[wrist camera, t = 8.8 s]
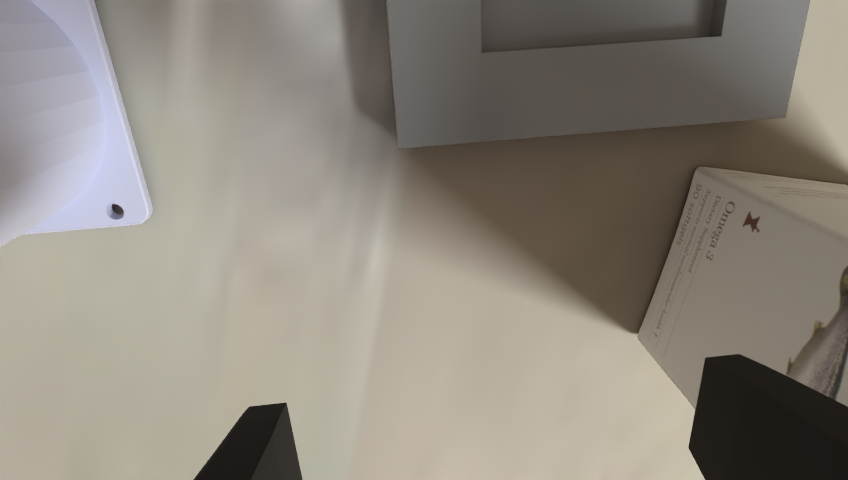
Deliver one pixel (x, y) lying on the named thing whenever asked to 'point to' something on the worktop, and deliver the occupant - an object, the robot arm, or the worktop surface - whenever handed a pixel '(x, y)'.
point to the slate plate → (586, 65)
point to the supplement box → (755, 281)
